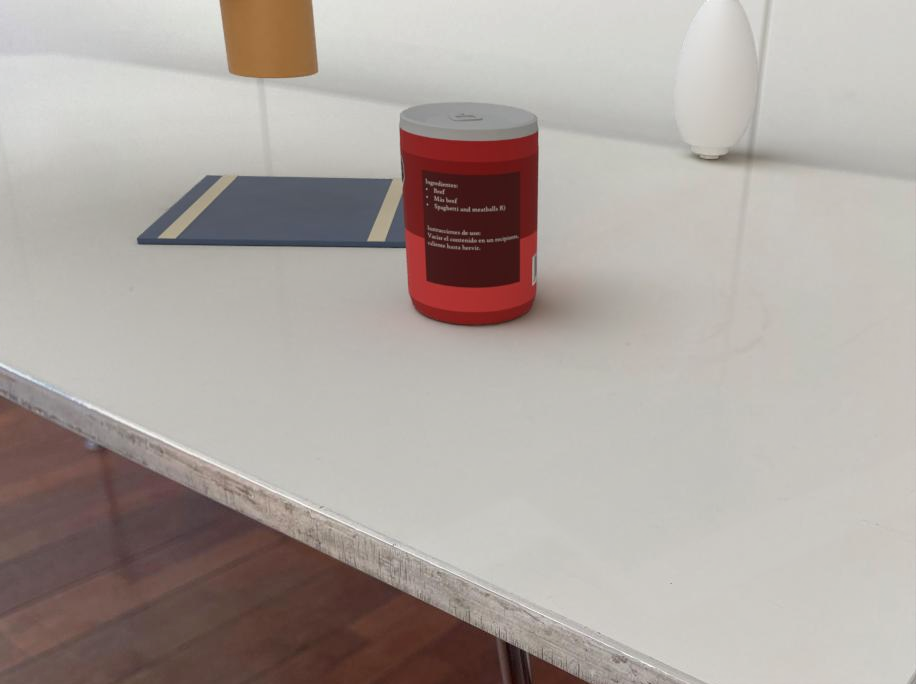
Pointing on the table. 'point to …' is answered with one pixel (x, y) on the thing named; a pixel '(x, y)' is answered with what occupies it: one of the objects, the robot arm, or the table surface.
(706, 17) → the white tall oval piece
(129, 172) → the table surface
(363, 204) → the placemat
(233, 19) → the lidded tan canister
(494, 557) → the table surface
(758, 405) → the table surface
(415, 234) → the canned food
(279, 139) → the table surface
